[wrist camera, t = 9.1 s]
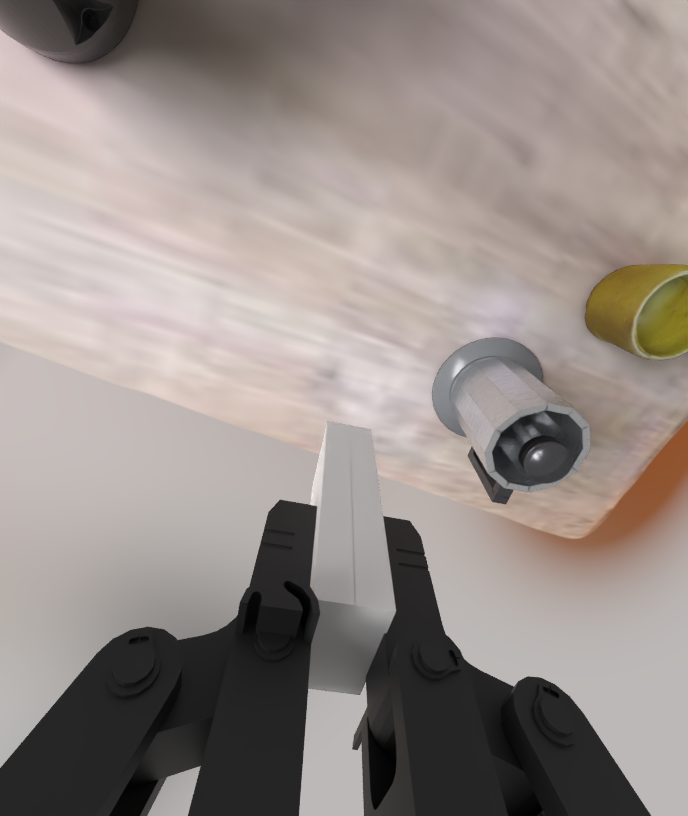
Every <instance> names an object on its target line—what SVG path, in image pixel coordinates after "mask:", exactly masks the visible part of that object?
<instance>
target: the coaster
mask: <svg viewBox="0 0 688 816" xmlns="http://www.w3.org/2000/svg"><path fill="white" fill-rule="evenodd" d="M486 356H503V357H506V358H509V359H511V360H512V361H516V362H517V363H518V364H520V365H521V366H522V367H523V368H524V369H526V370H527V371H528V372H529V373H531V374H532V375H533V376H534V377H536V378H537V379H538V380H539V381H541V382H542V383H543V376H542V370H541V367H540V364H539V362H538V360H537V359H536V357H535V356H534V355H533V353H532V352H530V351H529V350H528V349H527V348H526V347H524V346H523V345H521V344H519V343H517V342H515V341H512V340H509V339H504V338H485V339H481V340H477V341H474V342H471V343H469V344H467V345H465V346H463V347H462V348H460V349H458V350H457V351H456V352H454V353H453V354H452V355H451V356H450V357H449V358H448V359H447V360H446V361H445V362H444V364H443V365H442V366H441V368H440V370H439V371H438V373H437V375H436V378H435V381H434V384H433V390H432V400H433V406H434V409H435V411H436V413H437V415H438V417H439V419H440V420H441V422H442V423H443V424H444V425H445V426H446V427H447V428H448V429H450V430H451V431H453V432H455V433H456V434H459V435H461V436H465V437H467V436H466V435H465V433H464V431H463V429H462V428H461V426H460V424H459V422H458V421H457V419H456V417H455V415H454V413H453V409H452V407H451V404H450V399H449V393H450V388H451V384H452V382H453V380H454V378H455V377H456V375H457V374H458V373H459V371H460V370H461V369H462V368H463V367H465V366H466V365H467V364H469V363H470V362H472V361H474V360H476V359H478V358H481V357H486Z"/></svg>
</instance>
